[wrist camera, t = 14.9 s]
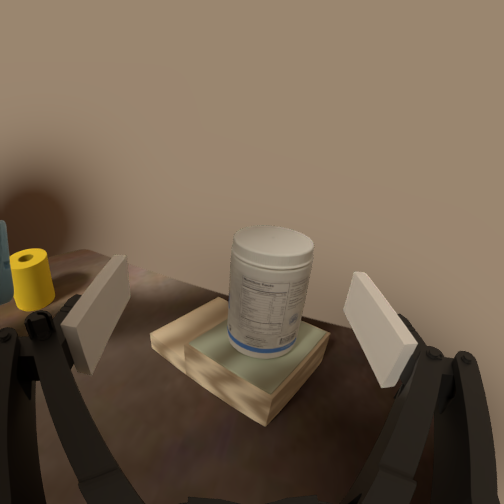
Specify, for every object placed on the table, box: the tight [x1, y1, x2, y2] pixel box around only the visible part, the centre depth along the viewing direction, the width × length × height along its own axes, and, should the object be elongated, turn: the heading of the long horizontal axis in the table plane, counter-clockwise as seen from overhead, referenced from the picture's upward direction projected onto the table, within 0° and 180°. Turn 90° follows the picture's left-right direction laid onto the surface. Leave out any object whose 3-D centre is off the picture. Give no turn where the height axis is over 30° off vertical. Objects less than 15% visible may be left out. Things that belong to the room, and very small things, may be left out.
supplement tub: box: [227, 225, 314, 359], centre depth 36 cm, size 10×10×15 cm
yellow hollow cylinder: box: [9, 249, 55, 311], centre depth 48 cm, size 10×10×9 cm
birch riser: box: [150, 297, 330, 427], centre depth 43 cm, size 22×16×6 cm
